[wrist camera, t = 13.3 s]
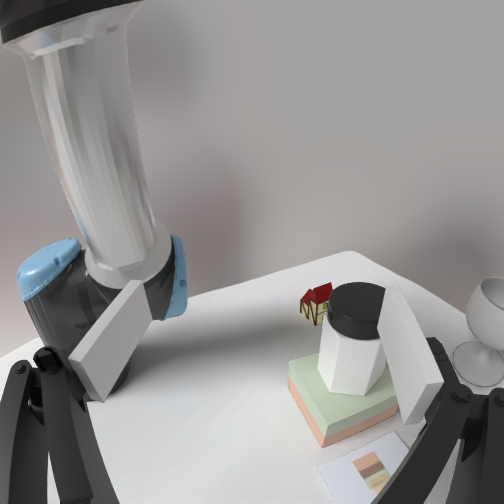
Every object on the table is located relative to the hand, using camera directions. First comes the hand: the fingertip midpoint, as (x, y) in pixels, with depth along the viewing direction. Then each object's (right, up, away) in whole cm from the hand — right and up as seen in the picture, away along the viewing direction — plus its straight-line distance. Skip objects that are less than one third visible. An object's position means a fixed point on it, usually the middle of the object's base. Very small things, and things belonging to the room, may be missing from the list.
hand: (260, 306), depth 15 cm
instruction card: (+14, -24, +11) cm, 30 cm away
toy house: (+11, -11, +44) cm, 46 cm away
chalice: (+40, -18, +23) cm, 50 cm away
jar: (+12, -14, +21) cm, 28 cm away
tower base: (+12, -19, +23) cm, 32 cm away
